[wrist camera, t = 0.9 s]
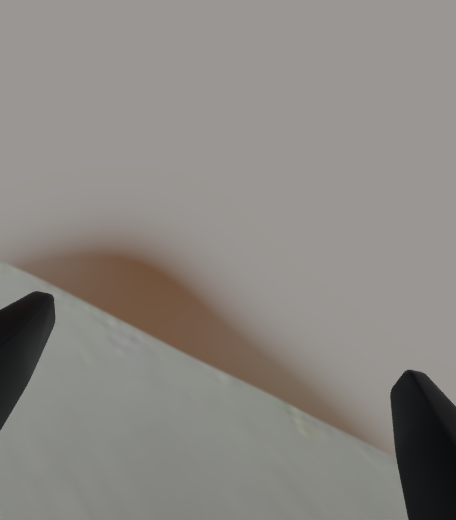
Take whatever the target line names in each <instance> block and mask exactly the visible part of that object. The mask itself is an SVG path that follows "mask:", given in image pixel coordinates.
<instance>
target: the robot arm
mask: <svg viewBox="0 0 456 520" xmlns="http://www.w3.org/2000/svg"><path fill="white" fill-rule="evenodd" d="M54 323H55V308H54V298H53V296H52V295H51V294H48V293H43V292H38V291H35V292H32V293H30V294H28V295H27V296H25V297H23V298H21V299H19V300H18V301H16V302H14V303H12V304H10V305H8V306H7V307H5V308H3V309H1V310H0V430H1V428H2V427H3V425H4V423H5V422H6V420H7V418H8V417H9V415H10V413H11V412H12V410H13V408H14V407H15V405H16V403H17V401H18V400H19V398H20V396H21V395H22V393H23V391H24V389H25V388H26V386H27V384H28V382H29V380H30V378H31V376H32V374H33V372H34V369H35V367H36V365H37V363H38V360H39V358H40V356H41V354H42V351H43V349H44V347H45V345H46V343H47V340H48V338H49V336H50V334H51V331H52V329H53V327H54ZM390 396H391V397H390V398H391V409H392V420H393V431H394V441H395V451H396V458H397V464H398V469H399V474H400V479H401V484H402V489H403V494H404V499H405V504H406V509H407V514H408V519H409V520H456V406H455V405H454V404H453V403H452V402H451V401H450V400H449V399H448V398H447V397H446V396H445V394H444V393H443V392H442V391H441V390H440V389H439V388H438V387H437V386H436V385H435V384H434V383H433V382H432V381H431V380H430V378H429V377H428V376H427V375H426V374H424V373H422V372H419V371H414V370H407V371H405V372H404V373H403V374H402V376H401V377H400V378H399V380H398V381H397V382H396V384H395V385H394V386H393V388H392V390H391V395H390Z"/></svg>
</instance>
